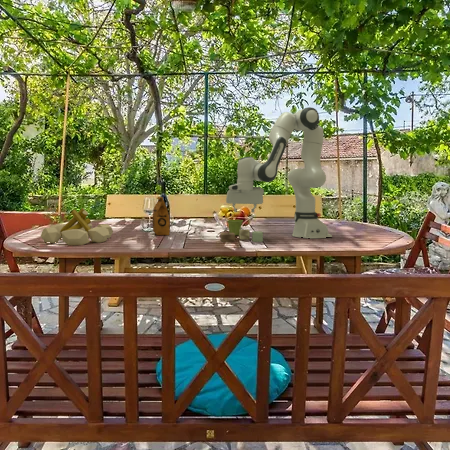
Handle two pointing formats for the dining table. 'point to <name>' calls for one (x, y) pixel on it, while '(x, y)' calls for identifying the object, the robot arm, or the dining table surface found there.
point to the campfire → (77, 231)
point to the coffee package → (161, 218)
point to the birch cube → (244, 234)
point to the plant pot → (234, 226)
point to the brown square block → (227, 237)
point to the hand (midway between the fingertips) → (244, 212)
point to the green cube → (257, 236)
